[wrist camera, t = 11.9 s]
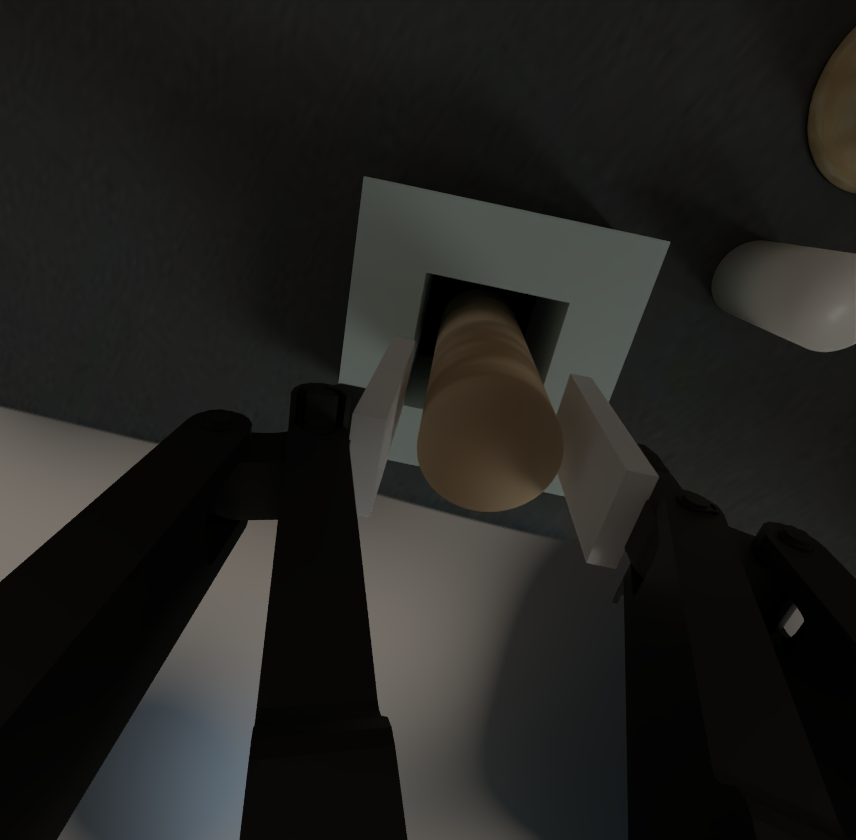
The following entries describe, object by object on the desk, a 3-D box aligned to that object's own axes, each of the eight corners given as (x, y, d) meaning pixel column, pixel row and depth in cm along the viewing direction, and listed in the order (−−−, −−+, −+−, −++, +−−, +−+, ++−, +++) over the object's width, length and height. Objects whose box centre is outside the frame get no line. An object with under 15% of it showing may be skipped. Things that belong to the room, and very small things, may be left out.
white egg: (805, 248, 26) (916, 266, 19) (768, 322, 27) (859, 360, 21) (731, 233, 25) (818, 244, 19) (698, 307, 27) (769, 341, 21)
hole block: (613, 229, 26) (670, 241, 19) (547, 427, 31) (571, 497, 24) (393, 182, 26) (363, 176, 18) (363, 388, 31) (330, 448, 23)
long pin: (524, 298, 25) (585, 401, 12) (503, 369, 27) (537, 524, 14) (449, 280, 25) (433, 367, 12) (433, 353, 27) (404, 495, 14)
